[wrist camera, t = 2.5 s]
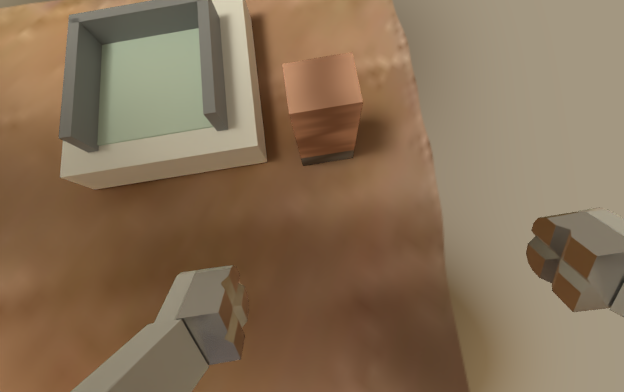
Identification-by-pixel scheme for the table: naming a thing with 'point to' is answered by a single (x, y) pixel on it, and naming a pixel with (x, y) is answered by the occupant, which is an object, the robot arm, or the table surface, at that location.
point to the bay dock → (159, 92)
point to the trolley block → (324, 106)
